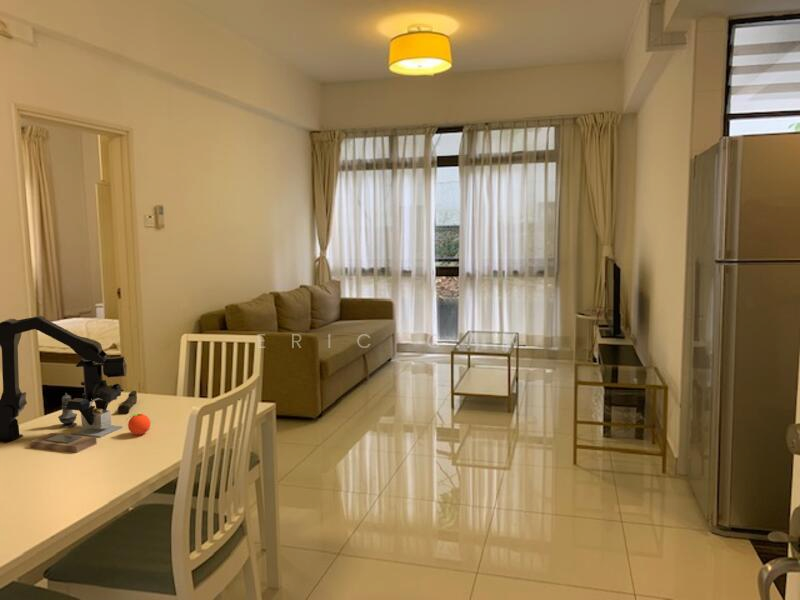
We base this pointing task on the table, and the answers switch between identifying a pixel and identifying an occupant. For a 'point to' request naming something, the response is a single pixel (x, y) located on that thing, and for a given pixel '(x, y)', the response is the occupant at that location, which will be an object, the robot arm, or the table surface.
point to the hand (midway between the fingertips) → (96, 422)
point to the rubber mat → (96, 431)
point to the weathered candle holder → (67, 414)
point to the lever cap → (98, 419)
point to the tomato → (139, 424)
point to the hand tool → (128, 403)
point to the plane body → (63, 442)
